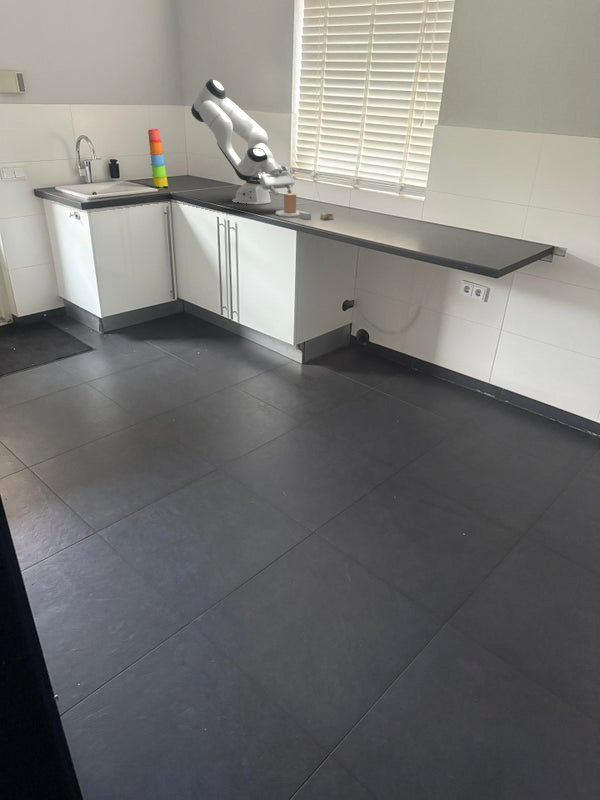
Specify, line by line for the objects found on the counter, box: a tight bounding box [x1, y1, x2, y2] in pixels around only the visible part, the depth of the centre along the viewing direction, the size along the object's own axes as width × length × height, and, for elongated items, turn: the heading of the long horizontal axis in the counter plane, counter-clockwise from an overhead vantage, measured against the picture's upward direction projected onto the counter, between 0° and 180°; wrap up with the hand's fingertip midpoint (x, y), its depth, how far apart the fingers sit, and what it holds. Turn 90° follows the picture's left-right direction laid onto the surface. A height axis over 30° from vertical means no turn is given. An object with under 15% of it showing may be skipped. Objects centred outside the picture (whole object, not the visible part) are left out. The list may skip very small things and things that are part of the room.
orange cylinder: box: [283, 192, 297, 213], centre depth 295 cm, size 4×4×9 cm
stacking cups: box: [147, 128, 169, 187], centre depth 362 cm, size 10×10×35 cm
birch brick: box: [320, 212, 334, 221], centre depth 288 cm, size 6×3×3 cm, turn 124°
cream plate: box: [275, 209, 304, 218], centre depth 297 cm, size 15×15×1 cm
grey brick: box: [298, 211, 312, 220], centre depth 289 cm, size 6×3×3 cm, turn 38°
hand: (283, 194), depth 297 cm, fingers open, 8 cm apart
